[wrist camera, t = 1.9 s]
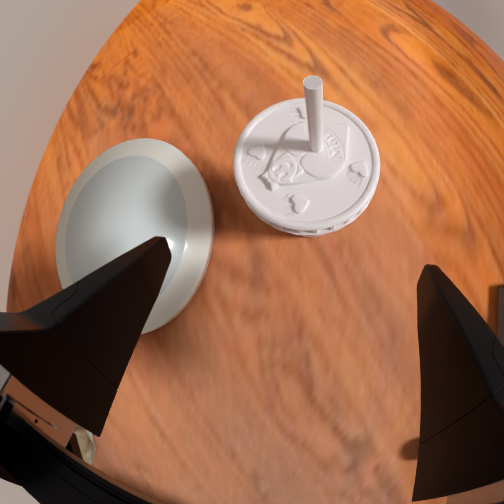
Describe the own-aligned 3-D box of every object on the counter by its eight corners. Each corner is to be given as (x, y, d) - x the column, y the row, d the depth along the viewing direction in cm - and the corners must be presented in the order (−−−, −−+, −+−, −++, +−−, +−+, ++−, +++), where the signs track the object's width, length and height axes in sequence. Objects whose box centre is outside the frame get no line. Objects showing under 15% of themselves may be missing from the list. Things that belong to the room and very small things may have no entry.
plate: (144, 375, 22) (136, 379, 21) (45, 261, 26) (37, 260, 25) (259, 196, 21) (255, 191, 20) (122, 122, 26) (115, 117, 25)
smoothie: (371, 222, 19) (450, 118, 6) (301, 274, 20) (272, 252, 7) (318, 157, 21) (307, 8, 7) (251, 205, 22) (158, 96, 8)
